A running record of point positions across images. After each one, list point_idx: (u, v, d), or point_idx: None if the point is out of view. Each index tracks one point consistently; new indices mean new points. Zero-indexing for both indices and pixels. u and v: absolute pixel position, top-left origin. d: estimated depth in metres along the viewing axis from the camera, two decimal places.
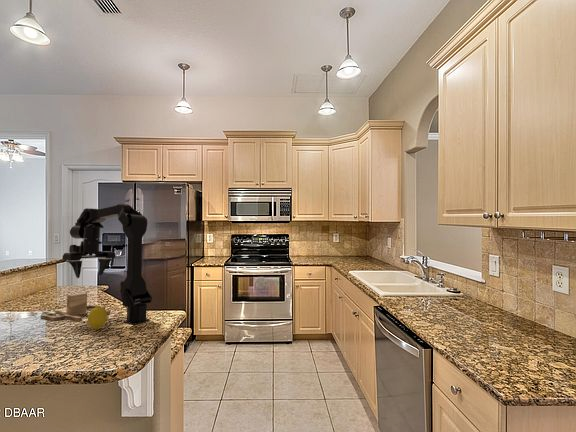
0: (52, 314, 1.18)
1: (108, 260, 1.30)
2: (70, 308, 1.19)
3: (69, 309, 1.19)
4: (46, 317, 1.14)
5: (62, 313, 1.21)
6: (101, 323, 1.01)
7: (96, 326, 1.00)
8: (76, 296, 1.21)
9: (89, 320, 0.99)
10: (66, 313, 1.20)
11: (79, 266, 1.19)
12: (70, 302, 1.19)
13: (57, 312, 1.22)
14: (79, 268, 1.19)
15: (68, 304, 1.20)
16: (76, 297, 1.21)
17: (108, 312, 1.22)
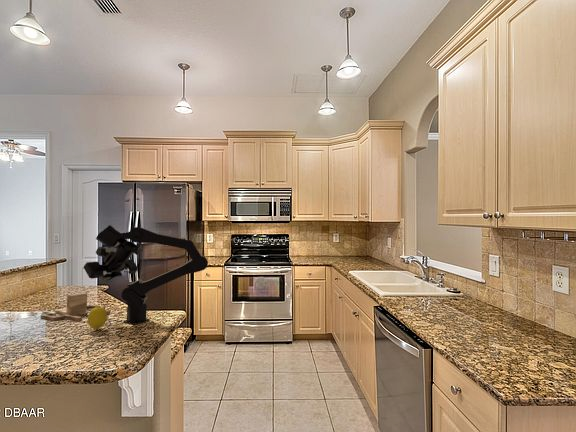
0: (52, 314, 1.18)
1: (116, 276, 1.16)
2: (70, 308, 1.19)
3: (69, 309, 1.19)
4: (46, 317, 1.14)
5: (62, 313, 1.21)
6: (101, 323, 1.01)
7: (96, 326, 1.00)
8: (76, 296, 1.21)
9: (89, 320, 0.99)
10: (66, 313, 1.20)
11: (107, 279, 1.14)
12: (70, 302, 1.19)
13: (57, 312, 1.22)
14: (106, 280, 1.15)
15: (68, 304, 1.20)
16: (76, 297, 1.21)
17: (108, 312, 1.22)
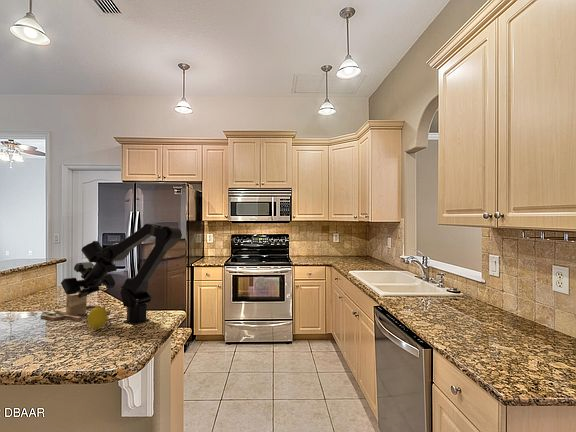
0: (52, 314, 1.18)
1: (94, 291, 1.21)
2: (70, 308, 1.19)
3: (69, 309, 1.19)
4: (46, 317, 1.14)
5: (62, 313, 1.21)
6: (101, 323, 1.01)
7: (96, 326, 1.00)
8: (76, 296, 1.21)
9: (89, 320, 0.99)
10: (66, 313, 1.20)
11: (84, 294, 1.19)
12: (70, 302, 1.19)
13: (57, 312, 1.22)
14: (83, 294, 1.19)
15: (68, 304, 1.20)
16: (75, 297, 1.21)
17: (108, 312, 1.22)
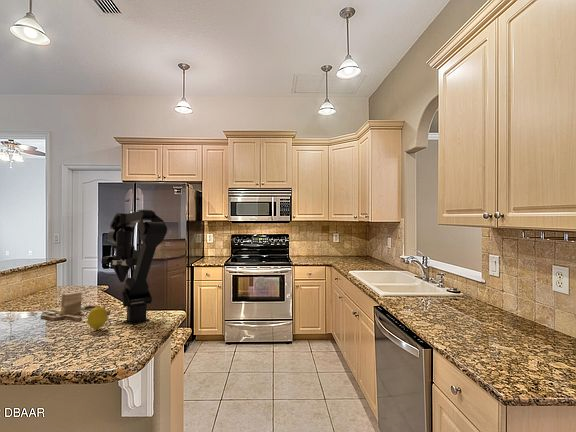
0: (52, 314, 1.18)
1: (118, 266, 1.20)
2: (64, 307, 1.21)
3: (64, 308, 1.21)
4: (46, 317, 1.14)
5: (57, 312, 1.22)
6: (101, 323, 1.01)
7: (96, 326, 1.00)
8: (70, 295, 1.22)
9: (89, 320, 0.99)
10: (61, 312, 1.21)
11: (115, 270, 1.21)
12: (64, 301, 1.21)
13: (52, 311, 1.24)
14: (116, 272, 1.22)
15: (63, 303, 1.21)
16: (70, 296, 1.22)
17: (108, 312, 1.22)
